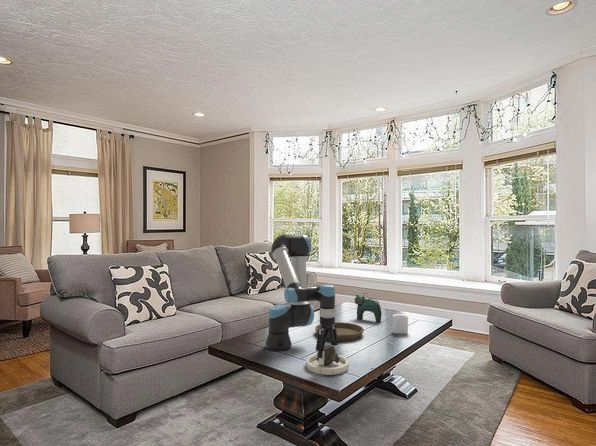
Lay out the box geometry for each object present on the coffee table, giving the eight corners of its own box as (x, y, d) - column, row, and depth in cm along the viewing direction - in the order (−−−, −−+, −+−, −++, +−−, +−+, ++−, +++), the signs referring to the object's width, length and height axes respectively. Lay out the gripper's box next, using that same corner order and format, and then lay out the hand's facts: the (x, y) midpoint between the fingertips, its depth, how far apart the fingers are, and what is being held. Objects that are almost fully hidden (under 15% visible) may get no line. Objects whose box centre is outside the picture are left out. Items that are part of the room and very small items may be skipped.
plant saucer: (319, 326, 258) (319, 320, 258) (364, 329, 251) (364, 322, 251) (311, 340, 227) (311, 333, 227) (363, 344, 221) (363, 336, 221)
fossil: (313, 363, 183) (316, 342, 187) (319, 366, 190) (321, 346, 195) (334, 366, 178) (336, 344, 183) (339, 369, 186) (342, 348, 190)
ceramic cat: (354, 318, 278) (354, 292, 278) (357, 317, 284) (358, 290, 284) (379, 323, 267) (379, 295, 267) (382, 321, 272) (382, 293, 272)
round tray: (297, 367, 184) (297, 362, 184) (321, 355, 201) (321, 350, 201) (334, 378, 171) (334, 372, 171) (356, 364, 188) (356, 359, 188)
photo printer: (407, 332, 244) (407, 313, 244) (408, 334, 240) (408, 315, 240) (391, 332, 245) (391, 313, 245) (392, 333, 241) (392, 314, 241)
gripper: (321, 322, 175) (321, 369, 175) (345, 313, 193) (344, 356, 193) (308, 319, 179) (308, 366, 179) (332, 310, 197) (332, 353, 197)
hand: (327, 361), depth 186 cm, fingers closed on fossil, 10 cm apart
